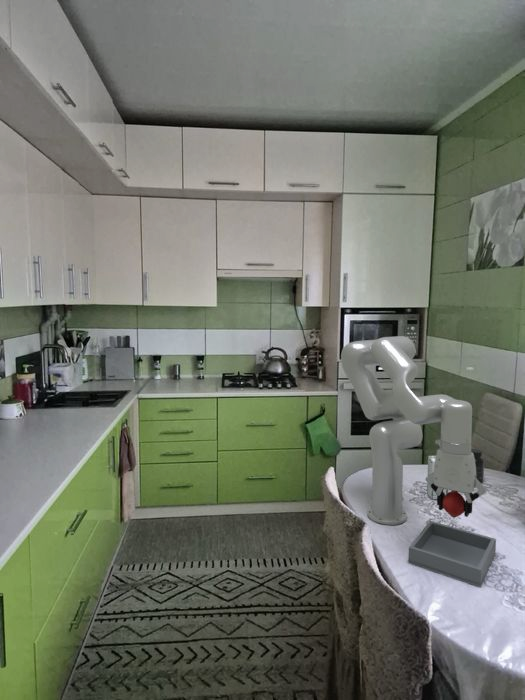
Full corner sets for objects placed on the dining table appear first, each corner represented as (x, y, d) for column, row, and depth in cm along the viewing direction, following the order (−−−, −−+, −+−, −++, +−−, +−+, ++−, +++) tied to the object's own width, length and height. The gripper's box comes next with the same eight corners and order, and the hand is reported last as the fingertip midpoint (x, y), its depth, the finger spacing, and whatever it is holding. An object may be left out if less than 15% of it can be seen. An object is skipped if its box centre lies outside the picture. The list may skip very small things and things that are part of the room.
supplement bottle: (460, 478, 179) (461, 448, 178) (474, 475, 181) (475, 446, 180) (473, 484, 173) (474, 454, 172) (487, 482, 175) (488, 452, 174)
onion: (459, 511, 126) (460, 484, 125) (469, 521, 120) (470, 492, 120) (438, 512, 126) (439, 484, 125) (447, 522, 120) (448, 493, 119)
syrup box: (443, 493, 166) (444, 455, 164) (448, 500, 160) (449, 460, 158) (426, 493, 167) (427, 454, 165) (431, 500, 161) (432, 460, 159)
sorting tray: (429, 534, 138) (429, 520, 137) (495, 554, 127) (495, 538, 126) (408, 563, 123) (408, 547, 123) (480, 587, 113) (481, 570, 112)
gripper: (418, 445, 124) (417, 508, 126) (488, 457, 113) (485, 526, 115) (427, 438, 130) (426, 498, 132) (494, 448, 119) (492, 514, 121)
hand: (454, 510), depth 123 cm, fingers closed on onion, 5 cm apart
